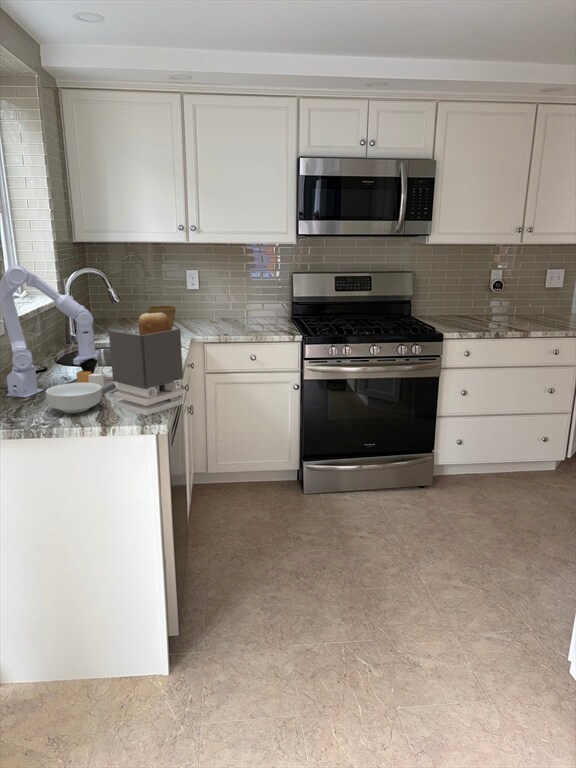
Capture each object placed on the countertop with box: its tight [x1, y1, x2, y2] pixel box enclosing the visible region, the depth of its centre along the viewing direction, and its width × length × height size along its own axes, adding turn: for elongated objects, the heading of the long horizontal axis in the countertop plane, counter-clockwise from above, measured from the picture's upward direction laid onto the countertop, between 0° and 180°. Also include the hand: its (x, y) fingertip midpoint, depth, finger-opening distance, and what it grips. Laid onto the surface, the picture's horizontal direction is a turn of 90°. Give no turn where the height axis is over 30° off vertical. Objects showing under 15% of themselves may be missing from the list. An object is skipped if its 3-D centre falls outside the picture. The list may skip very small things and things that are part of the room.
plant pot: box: [146, 305, 176, 330], centre depth 304 cm, size 15×15×16 cm
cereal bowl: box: [45, 383, 103, 414], centre depth 180 cm, size 17×17×7 cm
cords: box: [65, 378, 119, 395], centre depth 210 cm, size 19×22×1 cm
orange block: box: [76, 370, 91, 383], centre depth 204 cm, size 3×4×4 cm
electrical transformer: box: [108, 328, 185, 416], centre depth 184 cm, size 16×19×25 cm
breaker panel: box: [73, 373, 116, 395], centre depth 206 cm, size 21×16×6 cm
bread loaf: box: [138, 312, 170, 335], centre depth 221 cm, size 14×13×25 cm
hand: (89, 379), depth 207 cm, fingers closed
